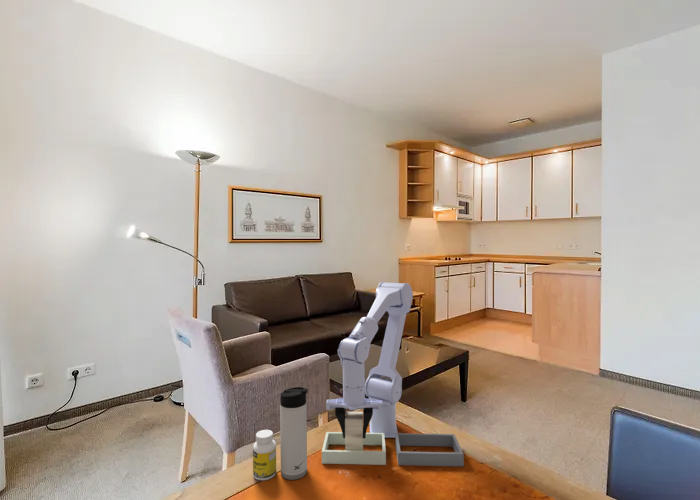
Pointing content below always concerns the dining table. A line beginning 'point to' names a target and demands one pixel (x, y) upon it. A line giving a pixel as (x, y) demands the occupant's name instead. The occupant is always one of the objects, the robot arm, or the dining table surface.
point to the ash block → (354, 431)
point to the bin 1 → (354, 456)
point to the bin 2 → (428, 457)
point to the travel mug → (293, 433)
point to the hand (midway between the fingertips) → (354, 436)
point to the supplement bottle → (264, 455)
